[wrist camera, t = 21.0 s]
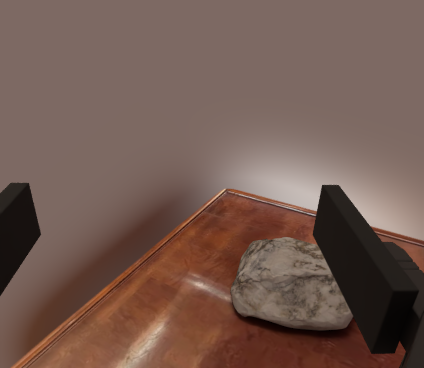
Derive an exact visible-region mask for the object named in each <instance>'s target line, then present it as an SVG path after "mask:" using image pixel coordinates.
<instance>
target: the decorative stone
mask: <svg viewBox="0 0 424 368" xmlns="http://www.w3.org/2000/svg"><path fill="white" fill-rule="evenodd" d="M231 295H232V298H233V305H234V307H235V309H236V310H237V311H238V313H240V314H241V315H242V316H244V317H247V316H252V317H257V318H260V319H263V320H267V321H270V322H273V323H276V324H279V325H282V326H286V327H290V328H297V329H308V330H319V331H321V330H337V329H343V328H345V327H347V326H348V324H349V323H350V321H351V320H352V318H353V315H352V313H351V311H350V309H349V307H348V305H347V303H346V301H345V299H344V297H343V295H342V293H341V291H340V289H339V287H338V285H337V283H336V281H335V279H334V277H333V275H332V273H331V271H330V269H329V267H328V265H327V263H326V260H325V258H324V256H323V254H322V252H321V250H320V248H319V246H318V245H315V244H311V243H308V242H304V241H300V240H297V239H293V238H289V237H284V238H280V239H273V240H268V239H264V240H259V241H253V242H252V243H251V244H250V245H249V247H248V249H247V250H246V252H245V253H244V254H243V256H242V258H241V260H240V264H239V268H238V271H237V276H236V279H235V281H234V282H233V284H232V287H231Z"/></svg>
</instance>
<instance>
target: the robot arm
mask: <svg viewBox="0 0 424 368" xmlns="http://www.w3.org/2000/svg"><path fill="white" fill-rule="evenodd" d="M40 235H41V233H40V229H39V224H38V220H37V216H36V212H35V207H34V203H33V199H32V195H31V190H30V186H29V183H10V184H9V185H8V186H7V187H6V188H5V189H4V190H3V191H2V192H1V193H0V296H1V294H2V293H3V291H4V289H5V288H6V287H7V285H8V283H9V282H10V280H11V279H12V277H13V276H14V274H15V273H16V271H17V270H18V268H19V267H20V265H21V264H22V262H23V261H24V259H25V258H26V256H27V255H28V253H29V252H30V250H31V249H32V247H33V246H34V244H35V243H36V241H37V240H38V238H39V237H40ZM313 236H314V238H315V240H316V242H317V244H318V246H319V248H320V250H321V252H322V254H323V256H324V258H325V260H326V263H327V265H328V267H329V269H330V271H331V273H332V275H333V277H334V279H335V281H336V283H337V285H338V287H339V289H340V291H341V293H342V295H343V297H344V299H345V301H346V303H347V305H348V307H349V309H350V311H351V313H352V315H353V317H354V319H355V321H356V323H357V325H358V327H359V329H360V331H361V333H362V335H363V337H364V339H365V341H366V343H367V346H368V348H369V350H370V352H371V354H386V353H395V350H396V348H397V345H398V343H399V340H400V342H401V344H402V346H403V347H404V349H405V351H406V353H405V355H404V358H403V360H402V362H401V365H400V367H399V368H424V273H423V272H422V271H421V270H419V267H418V266H417V265H416V263H415V262H413V260H412V259H411V257H410V256H409V255H408V254H407V253H406V251H405V250H403V249H402V248H400V247H399V246H398V245H396V244H395V243H393V242H382V241H381V240H380V238H379V237H378V236H377V235H376V233H375V232H374V231H373V229H372V228H371V227H370V225H369V224H368V223H367V222H366V220H365V219H364V218H363V216H362V215H361V214H360V212H359V211H358V210H357V208H356V207H355V206H354V205H353V203H352V202H351V201H350V199H349V198H348V197H347V196H346V194H345V193H344V192H343V190H342V189H341V188H340V186H339V185H322V189H321V194H320V199H319V204H318V209H317V214H316V220H315V225H314V230H313Z"/></svg>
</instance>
